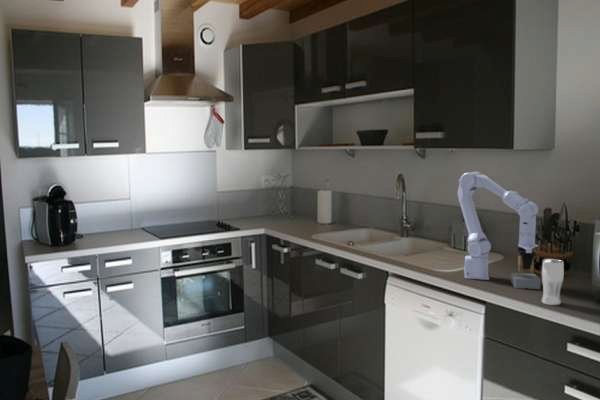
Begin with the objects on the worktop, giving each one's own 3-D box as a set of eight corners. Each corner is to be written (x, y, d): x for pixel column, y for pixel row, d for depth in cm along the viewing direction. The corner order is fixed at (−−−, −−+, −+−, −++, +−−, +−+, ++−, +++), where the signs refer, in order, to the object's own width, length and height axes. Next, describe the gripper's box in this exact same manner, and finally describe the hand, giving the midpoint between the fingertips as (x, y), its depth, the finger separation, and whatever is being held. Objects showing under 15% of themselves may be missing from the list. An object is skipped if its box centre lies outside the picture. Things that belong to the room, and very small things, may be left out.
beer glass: (564, 302, 180) (566, 260, 179) (558, 307, 175) (561, 264, 173) (543, 298, 185) (545, 257, 183) (537, 303, 180) (539, 261, 178)
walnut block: (519, 273, 199) (519, 257, 199) (517, 270, 204) (518, 255, 204) (533, 273, 198) (533, 258, 197) (531, 270, 203) (531, 255, 202)
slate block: (515, 288, 198) (515, 278, 198) (510, 282, 207) (510, 272, 207) (540, 290, 196) (540, 279, 196) (534, 283, 205) (534, 273, 205)
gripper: (541, 237, 191) (539, 272, 193) (535, 230, 205) (534, 263, 207) (520, 236, 193) (519, 271, 195) (516, 229, 207) (515, 262, 209)
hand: (525, 267), depth 201 cm, fingers closed on walnut block, 5 cm apart
